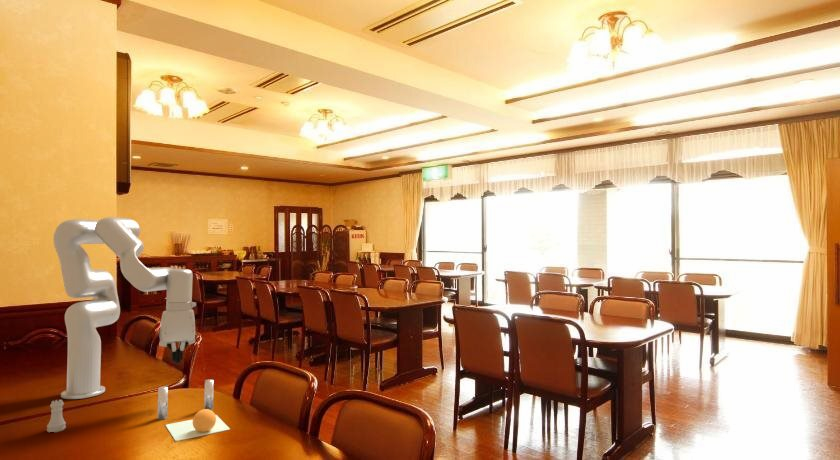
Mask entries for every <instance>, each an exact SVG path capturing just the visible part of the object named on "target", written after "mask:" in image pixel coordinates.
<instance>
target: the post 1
mask: <svg viewBox="0 0 840 460" xmlns="http://www.w3.org/2000/svg"><path fill="white" fill-rule="evenodd" d="M168 396H169V386H160V387H158V388H157V420H167V418H168V410H169V409H168V403H169V397H168Z"/></svg>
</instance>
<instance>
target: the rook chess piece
mask: <svg viewBox="0 0 840 460" xmlns="http://www.w3.org/2000/svg"><path fill="white" fill-rule="evenodd" d="M63 400H64V399H55V400H52V401H51V402H50V403H51V404H50V405H49V406H50V408H51V410H50V412H51V415H50V420H49V421H48V424H47V425H46V431H47V432H48V433H50V432H54V433H59V432H62V431H64V430H66V428H67V426H66V424H67V422H66V421H65V419H64V417H63V410H64V408H63V406H64V405H65V403H64V401H63Z"/></svg>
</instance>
